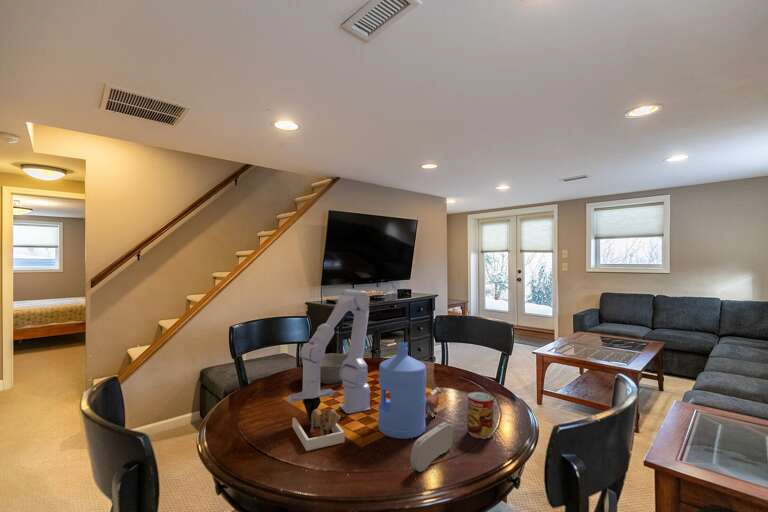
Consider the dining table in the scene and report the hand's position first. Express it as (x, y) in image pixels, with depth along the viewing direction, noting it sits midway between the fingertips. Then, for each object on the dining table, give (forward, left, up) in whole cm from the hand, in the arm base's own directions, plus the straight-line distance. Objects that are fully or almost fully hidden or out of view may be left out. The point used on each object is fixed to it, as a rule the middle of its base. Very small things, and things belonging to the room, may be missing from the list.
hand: (310, 420), depth 120 cm
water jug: (-26, +16, -2) cm, 30 cm away
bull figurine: (-42, +11, -2) cm, 43 cm away
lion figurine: (-2, +8, -2) cm, 8 cm away
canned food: (-47, +30, -2) cm, 56 cm away
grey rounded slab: (-24, +36, -2) cm, 43 cm away
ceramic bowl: (-21, -39, -2) cm, 45 cm away
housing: (0, +7, -1) cm, 7 cm away
